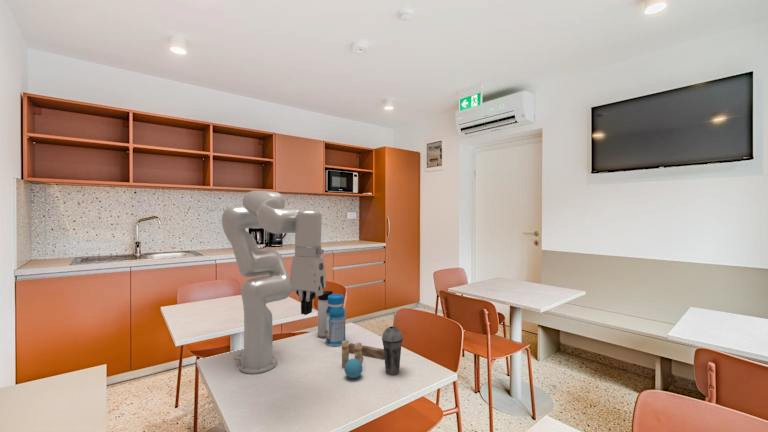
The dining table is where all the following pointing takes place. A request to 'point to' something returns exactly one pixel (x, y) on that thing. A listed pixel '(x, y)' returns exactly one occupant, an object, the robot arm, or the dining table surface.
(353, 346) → the back rail
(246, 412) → the dining table surface
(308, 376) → the dining table surface
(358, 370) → the ball
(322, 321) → the travel mug
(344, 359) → the pin
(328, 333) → the beverage bottle
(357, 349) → the pin
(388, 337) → the beverage cup
